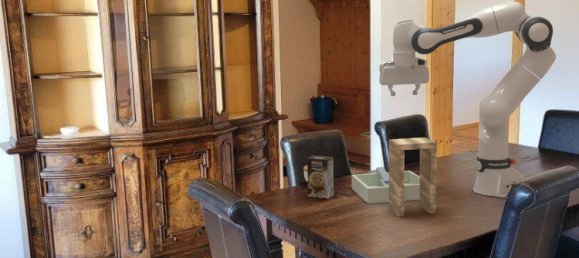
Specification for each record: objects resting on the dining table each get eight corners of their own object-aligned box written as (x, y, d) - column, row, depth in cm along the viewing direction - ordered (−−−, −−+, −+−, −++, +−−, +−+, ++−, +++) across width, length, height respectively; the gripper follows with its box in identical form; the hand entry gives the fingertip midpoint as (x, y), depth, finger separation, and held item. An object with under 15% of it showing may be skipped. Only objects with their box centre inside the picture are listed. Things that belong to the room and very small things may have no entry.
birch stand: (424, 205, 206) (425, 137, 202) (435, 213, 197) (436, 142, 192) (388, 208, 204) (389, 139, 200) (398, 216, 194) (398, 144, 190)
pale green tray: (410, 184, 236) (410, 170, 235) (431, 198, 214) (431, 183, 213) (351, 188, 231) (351, 174, 230) (367, 203, 210) (367, 188, 209)
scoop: (387, 170, 234) (387, 164, 232) (400, 192, 220) (402, 186, 219) (371, 171, 232) (372, 165, 231) (384, 194, 219) (385, 188, 217)
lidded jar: (308, 188, 234) (307, 167, 232) (300, 182, 244) (300, 161, 242) (331, 186, 236) (331, 165, 235) (323, 180, 247) (323, 159, 245)
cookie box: (307, 196, 222) (306, 157, 219) (314, 192, 227) (313, 154, 224) (327, 199, 217) (327, 159, 215) (334, 195, 223) (333, 156, 220)
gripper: (382, 62, 216) (382, 97, 219) (430, 60, 220) (430, 95, 222) (376, 62, 223) (377, 95, 225) (424, 60, 226) (424, 93, 228)
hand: (404, 95), depth 223 cm, fingers open, 8 cm apart
